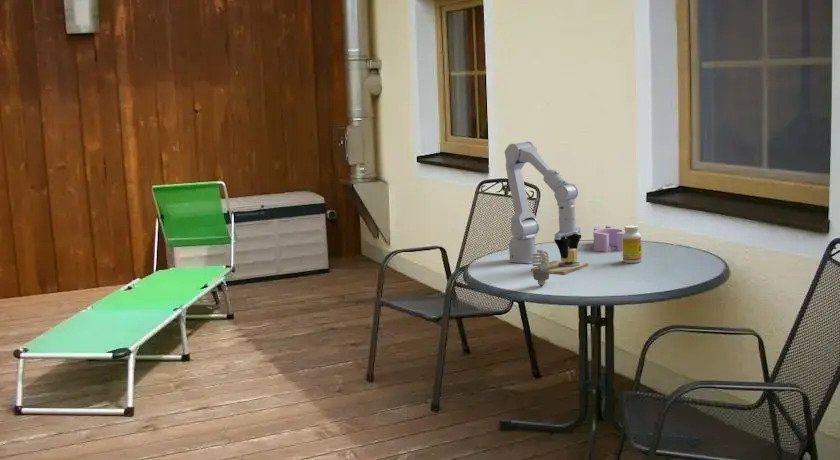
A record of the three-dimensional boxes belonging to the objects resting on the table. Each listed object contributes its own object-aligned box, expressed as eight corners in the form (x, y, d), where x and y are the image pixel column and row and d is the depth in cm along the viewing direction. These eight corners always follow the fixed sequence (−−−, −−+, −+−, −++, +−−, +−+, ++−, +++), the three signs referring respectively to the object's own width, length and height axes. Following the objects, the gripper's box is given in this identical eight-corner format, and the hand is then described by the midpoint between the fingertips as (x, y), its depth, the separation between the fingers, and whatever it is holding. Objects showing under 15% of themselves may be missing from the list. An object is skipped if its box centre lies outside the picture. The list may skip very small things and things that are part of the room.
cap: (558, 261, 343) (558, 250, 342) (566, 258, 347) (565, 247, 346) (571, 262, 339) (571, 251, 339) (579, 259, 343) (579, 248, 343)
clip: (587, 244, 386) (586, 227, 384) (618, 242, 386) (617, 225, 385) (598, 253, 366) (598, 235, 365) (631, 251, 366) (630, 233, 365)
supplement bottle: (641, 263, 342) (641, 227, 340) (622, 263, 344) (621, 228, 341) (641, 259, 349) (640, 224, 347) (622, 260, 350) (621, 225, 348)
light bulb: (531, 284, 320) (530, 249, 318) (548, 283, 320) (546, 247, 318) (535, 288, 314) (533, 252, 312) (552, 287, 315) (550, 250, 313)
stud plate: (530, 271, 341) (530, 261, 340) (554, 262, 353) (554, 253, 352) (565, 274, 332) (564, 264, 331) (588, 265, 344) (588, 256, 343)
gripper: (566, 222, 333) (567, 261, 335) (587, 216, 344) (588, 253, 346) (548, 221, 337) (550, 259, 339) (570, 215, 348) (571, 252, 350)
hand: (568, 256), depth 343 cm, fingers closed on cap, 5 cm apart
